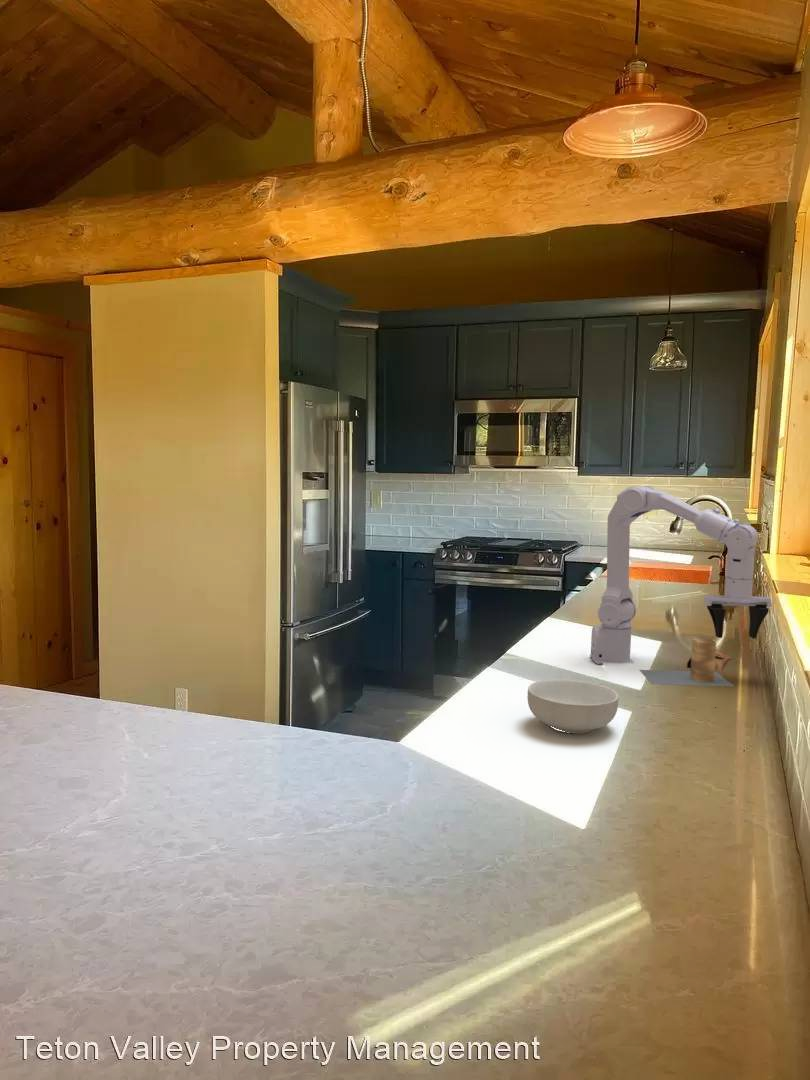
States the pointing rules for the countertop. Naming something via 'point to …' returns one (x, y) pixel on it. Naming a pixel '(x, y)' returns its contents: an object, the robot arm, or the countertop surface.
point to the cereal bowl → (572, 704)
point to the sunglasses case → (717, 661)
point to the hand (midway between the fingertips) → (735, 637)
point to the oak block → (703, 660)
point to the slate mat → (680, 678)
